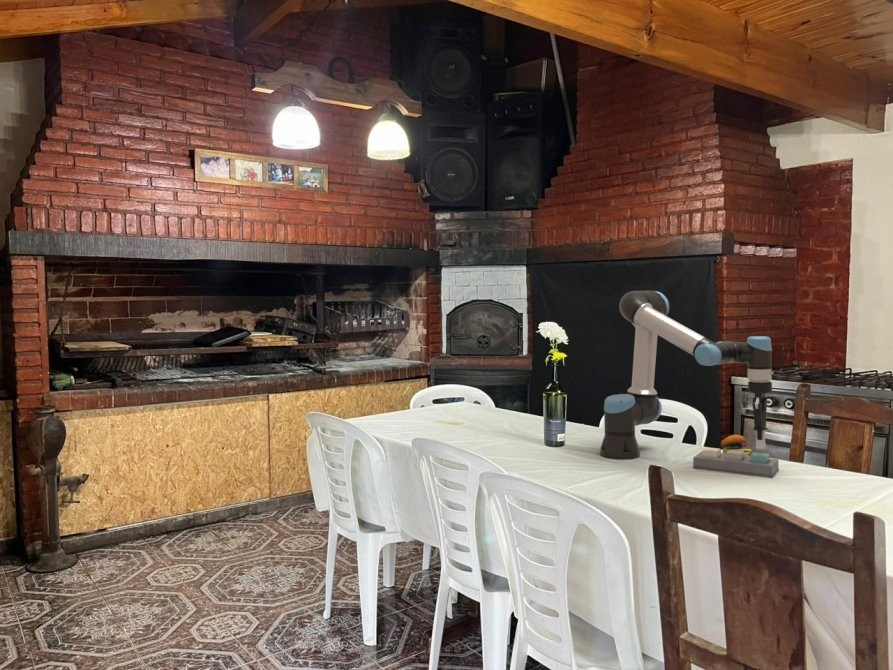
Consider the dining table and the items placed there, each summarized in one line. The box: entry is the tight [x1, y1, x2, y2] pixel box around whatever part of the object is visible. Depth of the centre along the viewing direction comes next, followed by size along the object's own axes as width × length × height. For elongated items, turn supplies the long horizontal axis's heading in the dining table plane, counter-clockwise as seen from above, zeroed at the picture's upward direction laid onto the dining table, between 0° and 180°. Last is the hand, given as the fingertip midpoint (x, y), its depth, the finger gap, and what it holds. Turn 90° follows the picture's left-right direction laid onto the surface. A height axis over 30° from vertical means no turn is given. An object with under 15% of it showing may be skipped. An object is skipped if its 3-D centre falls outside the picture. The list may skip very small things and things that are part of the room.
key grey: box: [726, 450, 744, 461], centre depth 234 cm, size 5×5×4 cm
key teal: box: [751, 451, 770, 464], centre depth 230 cm, size 5×5×4 cm
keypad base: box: [692, 450, 780, 479], centre depth 234 cm, size 26×12×4 cm, turn 54°
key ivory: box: [702, 446, 722, 458], centre depth 239 cm, size 5×5×4 cm
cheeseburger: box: [720, 434, 753, 456], centre depth 252 cm, size 10×11×10 cm
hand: (760, 448), depth 229 cm, fingers closed
